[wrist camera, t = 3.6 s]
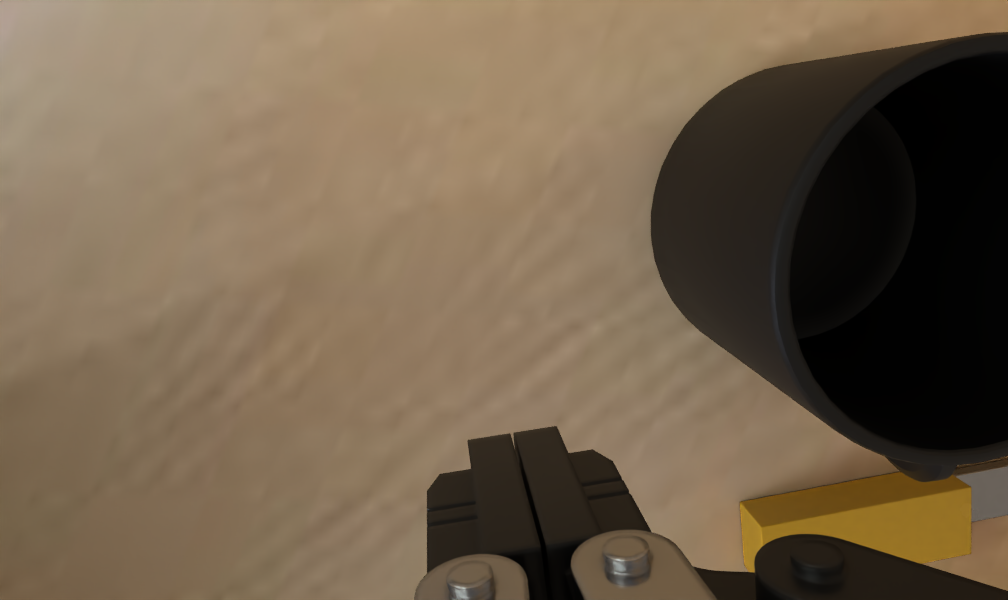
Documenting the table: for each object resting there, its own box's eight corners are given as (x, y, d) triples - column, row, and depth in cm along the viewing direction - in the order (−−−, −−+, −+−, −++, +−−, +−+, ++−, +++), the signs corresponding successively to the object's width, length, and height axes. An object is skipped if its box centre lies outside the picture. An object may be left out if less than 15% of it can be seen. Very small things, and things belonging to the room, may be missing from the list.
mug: (699, 454, 27) (837, 616, 18) (615, 114, 24) (730, 108, 15) (951, 372, 27) (1207, 492, 18) (899, 27, 24) (1175, -28, 15)
